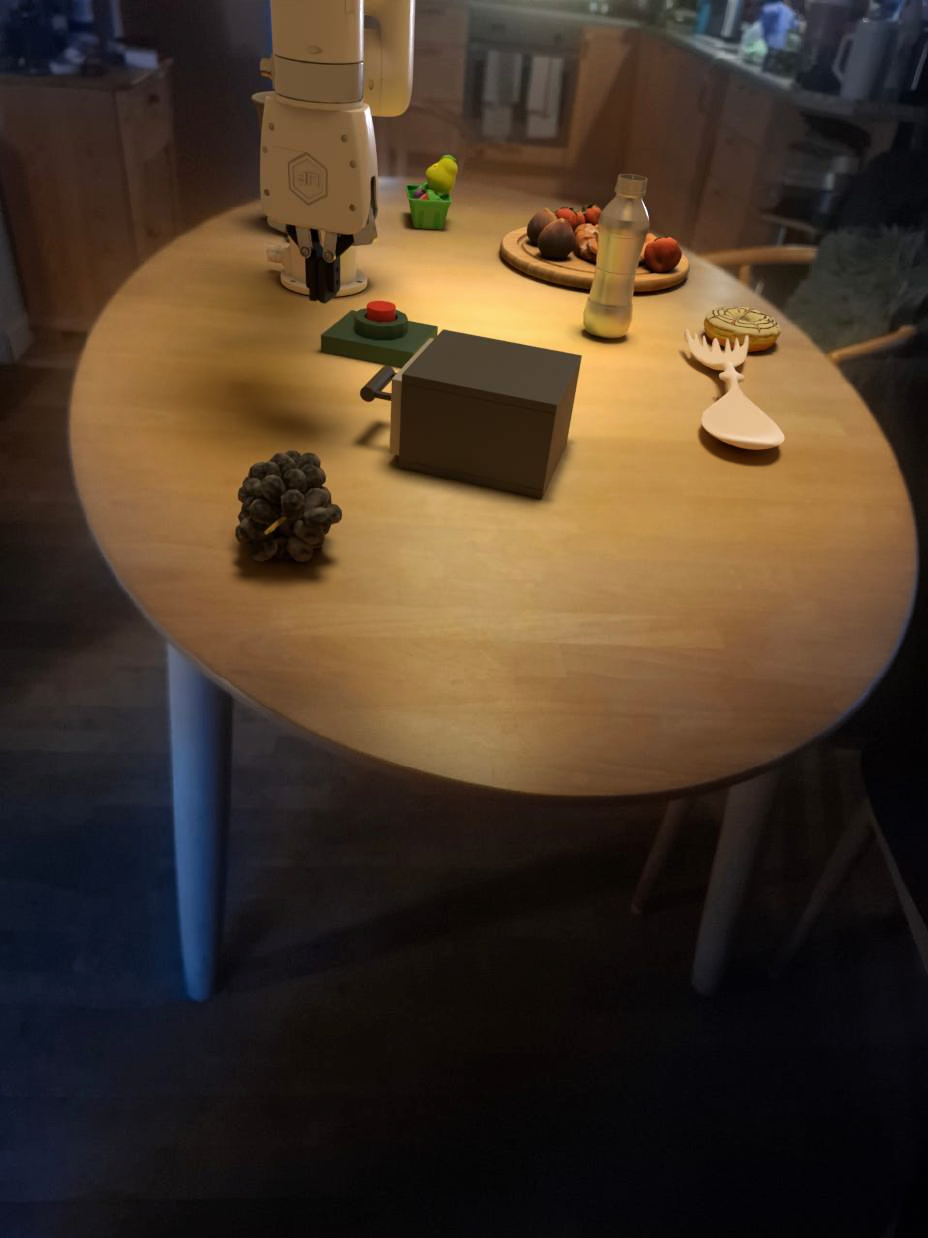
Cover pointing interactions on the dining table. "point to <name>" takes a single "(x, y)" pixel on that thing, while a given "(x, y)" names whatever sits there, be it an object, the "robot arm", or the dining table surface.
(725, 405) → the cream spork
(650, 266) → the wooden plate
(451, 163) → the fruit basket
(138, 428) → the dining table surface
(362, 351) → the control block
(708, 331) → the decorated donut
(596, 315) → the plastic bottle
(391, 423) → the drawer
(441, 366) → the cabinet
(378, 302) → the button
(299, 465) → the fruit
